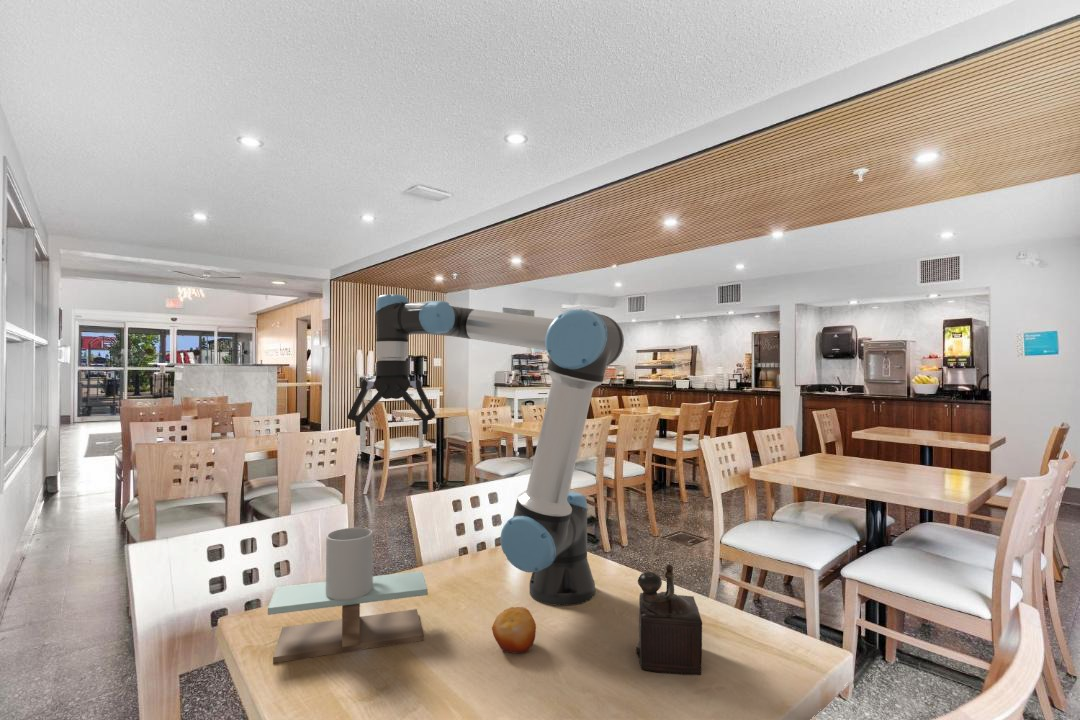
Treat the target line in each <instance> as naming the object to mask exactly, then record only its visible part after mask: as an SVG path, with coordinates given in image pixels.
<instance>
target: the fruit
mask: <svg viewBox="0 0 1080 720" xmlns="http://www.w3.org/2000/svg"><path fill="white" fill-rule="evenodd" d="M491 626H492V627H491V630H492V634H493V637H494V639H495V641H496V642H497V645H498V646H499V648H500V650H502V651H503V652H506V653H513V654H514V653H518V654H523V653H524V654H525V653H527V652H529V651H530V650H531V649H532V646H533V645H534V642H535V639H536V633H537V632H536V631H537V624H536V621H535V620H534V617H533V615H532V613H531V612H530V610H529V609H528V608H526V607H522V606H521V607H520V606H514V607H509V608H506V609H503V611H502V612H500V613H499V614H498V615H497V616H496V617H495V620H494V621H493V624H492V625H491Z"/></svg>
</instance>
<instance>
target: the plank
mask: <svg viewBox="0 0 1080 720" xmlns="http://www.w3.org/2000/svg"><path fill="white" fill-rule="evenodd" d="M428 590H429V589H428V586H427V583H426V578H425V575H424V572H423V570H416V571H410V572H409V571H408V572H401V573H391V574H390V573H389V574H382V575H373V588H372V591H371V592H370V593H369V594H367V595H365V596H363V597H360V598H356V599H351V600H334V599H330V598H328V597H327V596H326V581H318V582H310V583H301V584H292V585H290V584H289V585H282V586H276V587H275V589H274V591H273V595H272V596H271V599H270V602H269V604H268V607H267V615H268V616H270V615H280V614H286V613H294V612H301V611H304V612H305V611H309V610H310V611H311V610H319V609H325V608H327V609H328V608H335V607H336V608H337V607H342V606H344V605H352V604H367V603H374V602H375V603H376V602H383V601H391V600H398V599H399V600H400V599H407V598H415V597H424V596H428V593H429V592H428Z"/></svg>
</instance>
